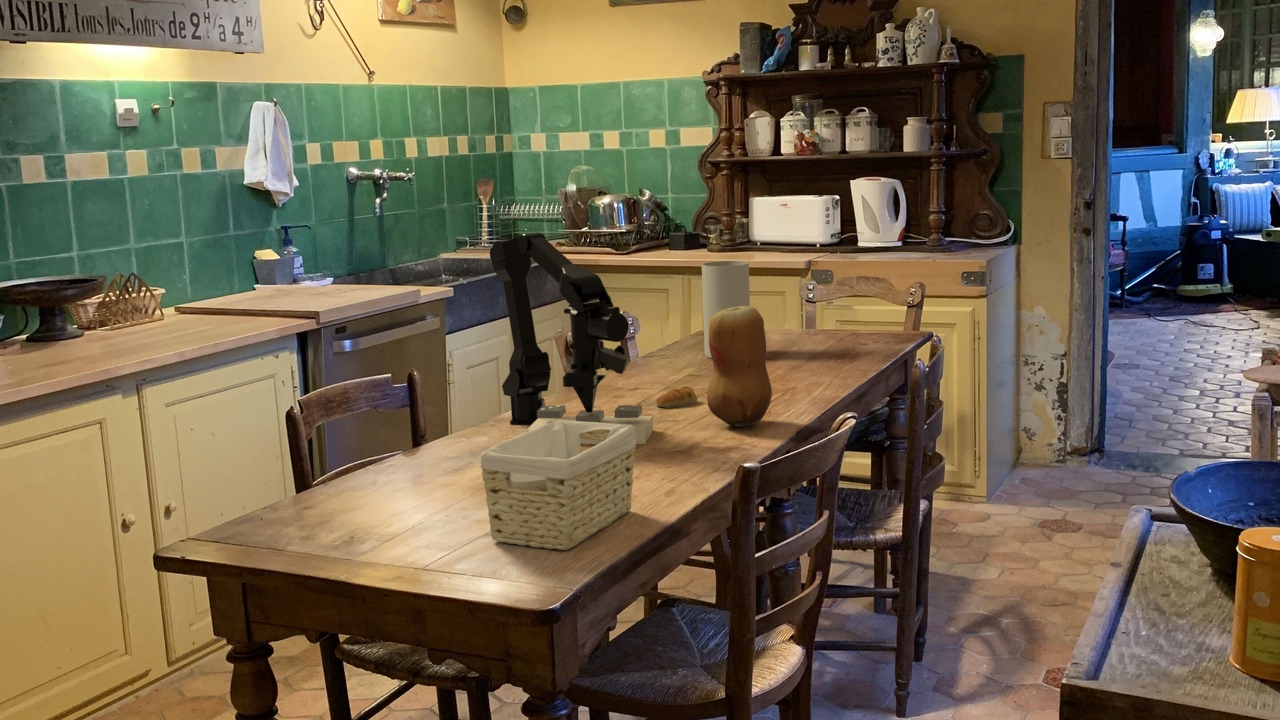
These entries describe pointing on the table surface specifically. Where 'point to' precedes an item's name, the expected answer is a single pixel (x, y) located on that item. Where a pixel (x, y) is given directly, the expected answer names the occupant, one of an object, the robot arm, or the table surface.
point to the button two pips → (628, 411)
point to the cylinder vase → (723, 290)
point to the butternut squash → (738, 367)
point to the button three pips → (551, 411)
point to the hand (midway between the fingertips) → (589, 412)
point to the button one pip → (590, 416)
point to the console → (641, 424)
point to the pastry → (677, 397)
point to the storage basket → (558, 483)
